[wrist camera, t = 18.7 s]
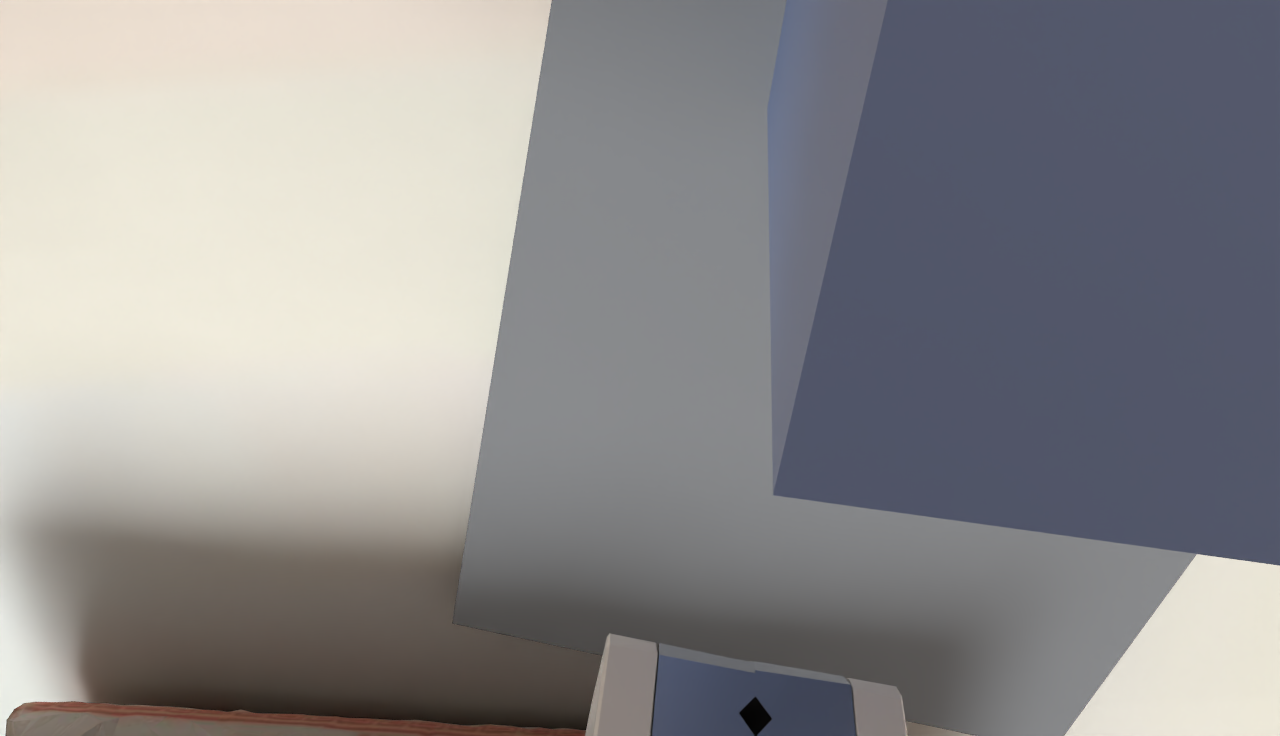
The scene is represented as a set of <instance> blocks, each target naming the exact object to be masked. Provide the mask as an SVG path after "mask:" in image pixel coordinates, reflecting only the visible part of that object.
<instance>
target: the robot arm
mask: <svg viewBox="0 0 1280 736" xmlns="http://www.w3.org/2000/svg"><path fill="white" fill-rule="evenodd" d="M585 736H908V735H907V728H906V721H905V714H904V708H903V701H902V696H901V694H900V692H899V690H898V689H897V687H896V686H890V685H885V684H879V683H874V682H868V681H863V680H857V679H852V678H845V677H844V676H840V675H834V674H828V673H822V672H816V671H810V670H804V669H798V668H792V667H787V666H781V665H775V664H769V663H763V662H757V661H750V662H748V661H743V660H738V659H734V658H729V657H724V656H719V655H714V654H710V653H705V652H700V651H695V650H691V649H686V648H681V647H676V646H672V645H667V644H662V643H658V644H656V643H655V642H650V641H645V640H640V639H635V638H630V637H625V636H620V635H615V634H610V633H609V635H608V636H607V639H606V643H605V647H604V651H603V656H602V660H601V664H600V669H599V673H598V677H597V682H596V686H595V690H594V695H593V699H592V704H591V709H590V713H589V718H588V723H587V728H586V733H585Z"/></svg>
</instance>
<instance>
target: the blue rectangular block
mask: <svg viewBox="0 0 1280 736" xmlns="http://www.w3.org/2000/svg"><path fill="white" fill-rule="evenodd" d="M767 121H768V189H769V258H770V326H771V395H772V463H773V495H774V496H782V497H789V498H796V499H803V500H811V501H818V502H825V503H832V504H839V505H847V506H854V507H861V508H868V509H876V510H883V511H890V512H897V513H905V514H912V515H919V516H926V517H934V518H941V519H948V520H955V521H962V522H970V523H977V524H984V525H991V526H999V527H1006V528H1013V529H1020V530H1028V531H1035V532H1042V533H1049V534H1056V535H1064V536H1071V537H1078V538H1085V539H1093V540H1100V541H1107V542H1114V543H1122V544H1129V545H1136V546H1143V547H1151V548H1158V549H1165V550H1172V551H1179V552H1187V553H1194V554H1201V555H1208V556H1216V557H1223V558H1230V559H1237V560H1245V561H1252V562H1259V563H1266V564H1273V565H1280V0H787V1H786V7H785V12H784V18H783V24H782V29H781V35H780V41H779V46H778V52H777V57H776V63H775V69H774V74H773V80H772V86H771V91H770V97H769V102H768V108H767Z"/></svg>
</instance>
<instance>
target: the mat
mask: <svg viewBox="0 0 1280 736" xmlns="http://www.w3.org/2000/svg"><path fill="white" fill-rule="evenodd" d="M786 1H787V0H552V3H551V9H550V16H549V22H548V28H547V34H546V41H545V47H544V53H543V59H542V66H541V72H540V78H539V84H538V91H537V97H536V103H535V109H534V116H533V122H532V128H531V134H530V141H529V147H528V153H527V159H526V166H525V172H524V178H523V185H522V191H521V197H520V203H519V210H518V216H517V222H516V228H515V235H514V241H513V247H512V253H511V260H510V266H509V272H508V278H507V285H506V291H505V297H504V303H503V310H502V316H501V322H500V328H499V335H498V341H497V347H496V353H495V360H494V366H493V372H492V378H491V385H490V391H489V397H488V403H487V410H486V416H485V422H484V428H483V435H482V441H481V447H480V453H479V460H478V466H477V472H476V478H475V485H474V491H473V497H472V503H471V510H470V516H469V522H468V528H467V535H466V541H465V547H464V553H463V560H462V566H461V572H460V578H459V585H458V591H457V597H456V603H455V610H454V616H453V622H452V623H453V624H457V625H462V626H467V627H471V628H476V629H481V630H485V631H490V632H495V633H499V634H504V635H509V636H513V637H518V638H523V639H527V640H532V641H537V642H541V643H546V644H551V645H555V646H560V647H565V648H569V649H574V650H579V651H583V652H588V653H593V654H597V655H602V656H603V651H604V647H605V643H606V639H607V636H608V635H609V633H610V634H615V635H620V636H625V637H630V638H635V639H640V640H645V641H650V642H655V643H656V644H658V643H662V644H667V645H672V646H676V647H681V648H686V649H691V650H695V651H700V652H705V653H710V654H714V655H719V656H724V657H729V658H734V659H738V660H743V661H748V662H750V661H757V662H763V663H769V664H775V665H781V666H787V667H792V668H798V669H804V670H810V671H816V672H822V673H828V674H834V675H840V676H844V677H845V678H852V679H857V680H863V681H868V682H874V683H879V684H885V685H890V686H896V687H897V689H898V690H899V692H900V694H901V696H902V701H903V708H904V714H905V721H910V722H914V723H919V724H924V725H928V726H933V727H938V728H942V729H947V730H952V731H956V732H961V733H966V734H970V735H975V736H1064V735H1065V734H1066V732H1067V731H1068V730H1069V728H1070V727H1071V725H1072V724H1073V723H1074V721H1075V720H1076V719H1077V717H1078V716H1079V714H1080V713H1081V712H1082V710H1083V709H1084V708H1085V706H1086V705H1087V704H1088V702H1089V701H1090V699H1091V698H1092V697H1093V695H1094V694H1095V693H1096V691H1097V690H1098V688H1099V687H1100V686H1101V684H1102V683H1103V682H1104V680H1105V679H1106V678H1107V676H1108V675H1109V673H1110V672H1111V671H1112V669H1113V668H1114V667H1115V665H1116V664H1117V662H1118V661H1119V660H1120V658H1121V657H1122V656H1123V654H1124V653H1125V652H1126V650H1127V649H1128V647H1129V646H1130V645H1131V643H1132V642H1133V641H1134V639H1135V638H1136V637H1137V635H1138V634H1139V632H1140V631H1141V630H1142V628H1143V627H1144V626H1145V624H1146V623H1147V621H1148V620H1149V619H1150V617H1151V616H1152V615H1153V613H1154V612H1155V611H1156V609H1157V608H1158V606H1159V605H1160V604H1161V602H1162V601H1163V600H1164V598H1165V597H1166V595H1167V594H1168V593H1169V591H1170V590H1171V589H1172V587H1173V586H1174V585H1175V583H1176V582H1177V580H1178V579H1179V578H1180V576H1181V575H1182V574H1183V572H1184V571H1185V569H1186V568H1187V567H1188V565H1189V564H1190V563H1191V561H1192V560H1193V559H1194V557H1195V556H1196V554H1194V553H1187V552H1179V551H1172V550H1165V549H1158V548H1151V547H1143V546H1136V545H1129V544H1122V543H1114V542H1107V541H1100V540H1093V539H1085V538H1078V537H1071V536H1064V535H1056V534H1049V533H1042V532H1035V531H1028V530H1020V529H1013V528H1006V527H999V526H991V525H984V524H977V523H970V522H962V521H955V520H948V519H941V518H934V517H926V516H919V515H912V514H905V513H897V512H890V511H883V510H876V509H868V508H861V507H854V506H847V505H839V504H832V503H825V502H818V501H811V500H803V499H796V498H789V497H782V496H774V495H773V463H772V395H771V326H770V258H769V189H768V121H767V108H768V102H769V97H770V91H771V86H772V80H773V74H774V69H775V63H776V57H777V52H778V46H779V41H780V35H781V29H782V24H783V18H784V12H785V7H786Z"/></svg>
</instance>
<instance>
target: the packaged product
mask: <svg viewBox="0 0 1280 736" xmlns="http://www.w3.org/2000/svg"><path fill="white" fill-rule="evenodd" d="M585 733H586V730H578V729H569V728H558V729H547V728H542V727H526V728H521V727H515V726H506V725H493V724H484V725H457V724H447V723H439V722H430V721H422V720H384V719H369V718H344V717H337V716H314V715H305V714H273V713H252V712H249V711H245V710H235V711H230V712H224V711H219V710H200V709H193V708H183V707H166V706H148V705H116V704H109V703H83V702H76V701H71V702H31V703H24V704H22V705H21V706H19V707H17V708H16V709H14V711H13V712H12V713H11V715H10V716H9V718H8V719H7V724H6V736H585Z"/></svg>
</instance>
